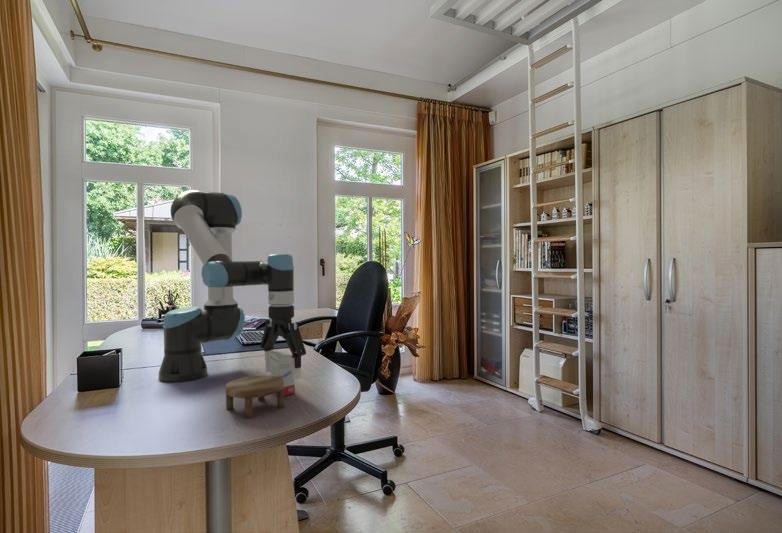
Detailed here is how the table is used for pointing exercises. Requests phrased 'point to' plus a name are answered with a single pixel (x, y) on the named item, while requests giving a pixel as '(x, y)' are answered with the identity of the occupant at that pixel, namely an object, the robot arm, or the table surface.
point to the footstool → (254, 391)
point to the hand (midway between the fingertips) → (282, 375)
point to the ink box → (282, 369)
